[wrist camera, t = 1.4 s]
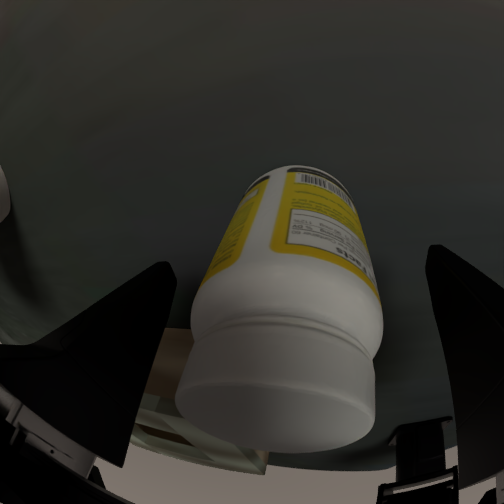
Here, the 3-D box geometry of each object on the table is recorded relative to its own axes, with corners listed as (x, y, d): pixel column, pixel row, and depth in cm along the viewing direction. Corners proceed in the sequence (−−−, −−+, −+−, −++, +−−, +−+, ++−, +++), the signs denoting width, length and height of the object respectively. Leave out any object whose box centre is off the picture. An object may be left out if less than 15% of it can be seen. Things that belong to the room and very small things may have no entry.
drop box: (275, 419, 24) (264, 475, 19) (152, 401, 27) (134, 445, 23) (242, 331, 16) (215, 424, 11) (81, 318, 20) (45, 373, 15)
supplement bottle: (260, 271, 13) (211, 449, 7) (224, 179, 11) (103, 359, 4) (363, 255, 12) (384, 452, 5) (345, 151, 9) (411, 353, 3)
